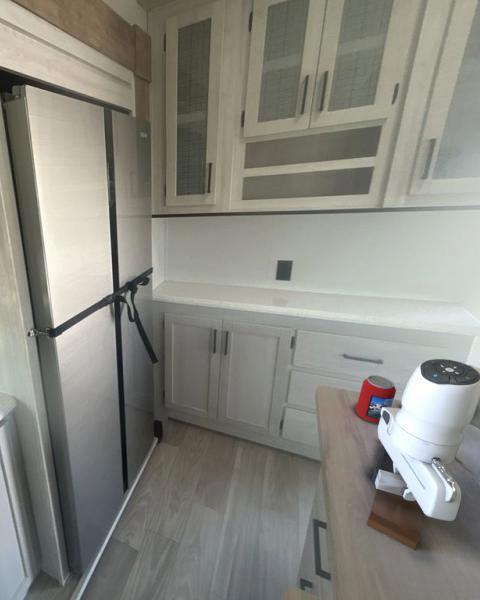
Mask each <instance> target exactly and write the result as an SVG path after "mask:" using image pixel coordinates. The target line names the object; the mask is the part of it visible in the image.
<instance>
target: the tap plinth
mask: <svg viewBox="0 0 480 600" xmlns="http://www.w3.org/2000/svg"><path fill="white" fill-rule="evenodd" d="M369 509H370V510H369V512H368V513H369V514H368V518H367V521H366V525H367V526H369V527H370V528H372V529H374V530H376V531H378V532H380V533H381V534H384V535H386V536H387V537H389V538H392V539H393V540H395V541H397V542H398V543H401V544H402V545H404V546H406V547H408V548H409V549H412V550H414V551H415V550H416V548H417V545H418V543H419V541H420V538H421V535H422V526H423V518H424V512H423V510H422V509H421V507H420V505H419V504H418V502H417V500H415V501H409V500H405V499H404V497H403V496H400V495H397V494H393V493H390V492H386V491H383V490H380V489H377V488H376V487H375V490H374V494H373V498H372V502H371V506H370V508H369Z"/></svg>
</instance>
